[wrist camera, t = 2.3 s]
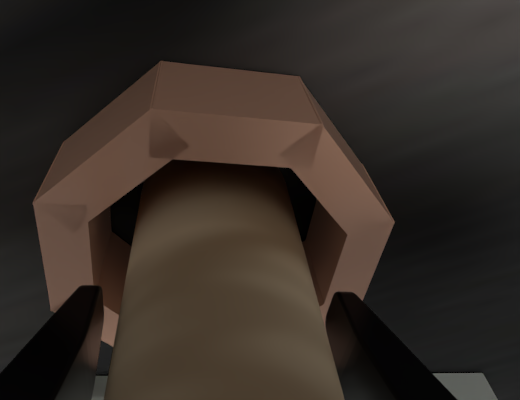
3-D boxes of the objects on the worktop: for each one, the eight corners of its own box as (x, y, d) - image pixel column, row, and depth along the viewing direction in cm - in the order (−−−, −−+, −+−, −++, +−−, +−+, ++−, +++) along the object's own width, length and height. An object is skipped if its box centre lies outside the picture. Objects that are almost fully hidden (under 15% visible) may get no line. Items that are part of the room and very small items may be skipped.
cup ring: (388, 85, 11) (431, 133, 9) (318, 301, 15) (336, 366, 13) (53, 48, 10) (13, 95, 8) (80, 296, 14) (59, 367, 12)
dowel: (301, 145, 12) (394, 403, 6) (274, 259, 14) (324, 522, 8) (140, 131, 11) (78, 409, 5) (140, 253, 13) (97, 537, 8)
